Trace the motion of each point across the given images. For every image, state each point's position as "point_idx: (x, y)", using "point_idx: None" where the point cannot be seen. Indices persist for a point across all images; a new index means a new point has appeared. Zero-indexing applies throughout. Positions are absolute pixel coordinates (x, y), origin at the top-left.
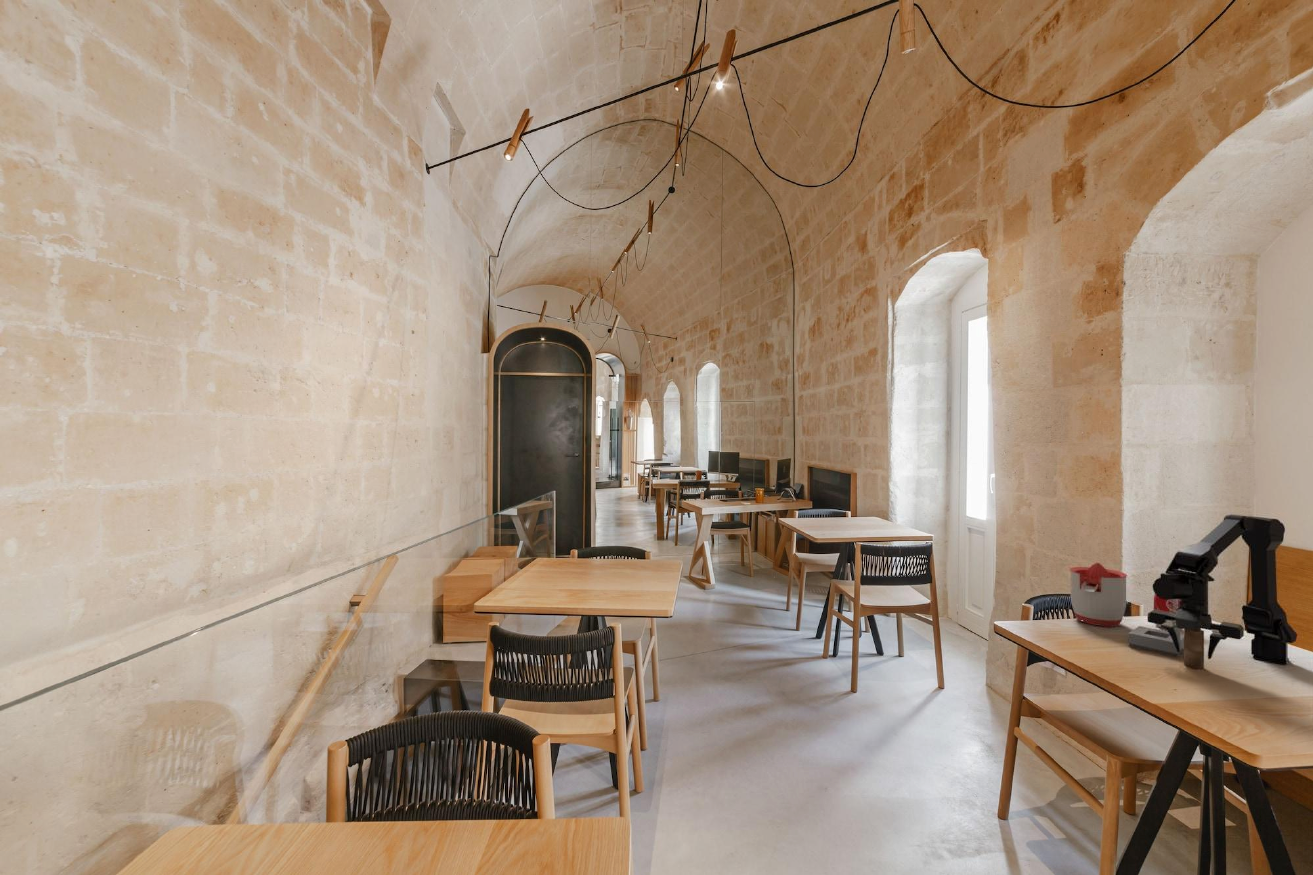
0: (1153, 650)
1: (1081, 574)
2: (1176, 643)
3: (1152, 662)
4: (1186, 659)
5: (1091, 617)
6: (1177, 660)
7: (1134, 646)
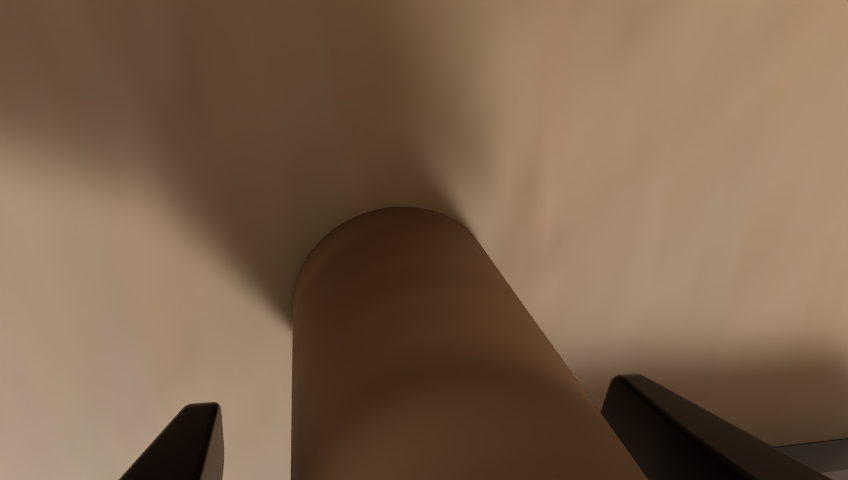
0: None
1: None
2: (779, 477)
3: (803, 72)
4: (500, 279)
5: None
6: None
7: (842, 451)
